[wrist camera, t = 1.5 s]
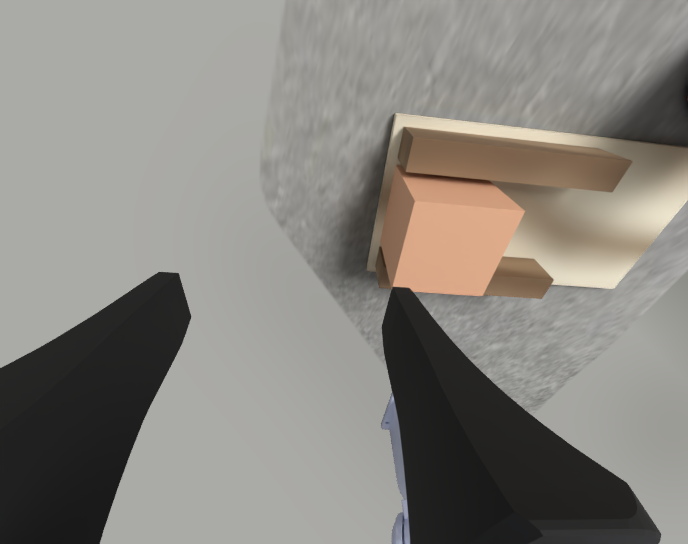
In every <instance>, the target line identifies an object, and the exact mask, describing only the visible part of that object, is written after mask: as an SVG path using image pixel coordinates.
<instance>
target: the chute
mask: <svg viewBox="0 0 688 544" xmlns="http://www.w3.org/2000/svg"><path fill="white" fill-rule="evenodd" d="M397 158H398V160H399V161H400V163H401V165H402V166H403V168H404V170H405V172H412V173H422V174H432V175H442V176H452V177H462V178H472V179H482V180H492V181H502V182H512V183H522V184H532V185H542V186H552V187H562V188H572V189H582V190H592V191H602V192H613V191H614V189H615V188H616V186H617V185H618V183H619V182H620V180H621V179H622V177H623V176H624V174H625V173H626V171H627V170H628V168H629V167H630V165H631V164H632V162H633V161H631V160H629V159H626V158H623V157H621V156H618V155H615V154H613V153H610V152H607V151H605V150H602V149H599V148H592V147H583V146H574V145H565V144H556V143H548V142H539V141H530V140H521V139H512V138H503V137H494V136H485V135H476V134H468V133H459V132H450V131H441V130H432V129H423V128H414V127H405V126H404V128H403V133H402V138H401V143H400V148H399V153H398V157H397ZM375 267H376V273H377V278H378V284H379V288H389V289H391V285H390V281H389V277H388V272H387V268H386V264H385V260H384V255H383V251H382V247H379V250H378V255H377V260H376V265H375ZM553 281H554V279H553V278H552V277H551V276H550V275H549V274H548V273H547V272H546V271H545V270H544V269H543V268H542V267H541V266H540V264H539V263H538V262H537V261H536V260H535V259H531V258H518V257H505V256H502V258H501V260H500V262H499V264H498V266H497V268H496V270H495V272H494V274H493V276H492V278H491V280H490V282H489V284H488V286H487V288H486V290H485V292H484V294H483V295H493V296H508V297H523V298H538V299H542V298H543V296H544V295H545V293H546V292H547V290H548V289H549V287H550V286H551V284H552V283H553Z"/></svg>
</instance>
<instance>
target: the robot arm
mask: <svg viewBox="0 0 688 544" xmlns="http://www.w3.org/2000/svg"><path fill="white" fill-rule="evenodd" d="M190 319H191V314H190V311H189V307H188V304H187V300H186V297H185V293H184V290H183V287H182V283H181V280H180V277H179V273H168V272H158V273H157V274H155V275H154V276H152V277H150V278H149V279H147V280H146V281H144V282H143V283H141V284H140V285H138V286H137V287H135V288H134V289H132V290H131V291H129V292H128V293H127V294H125V295H123V296H122V297H120V298H119V299H118V300H116V301H114V302H113V303H111V304H110V305H108V306H107V307H105V308H104V309H102V310H101V311H99V312H98V313H96V314H95V315H93V316H92V317H90V318H88V319H87V320H85V321H83V322H82V323H80V324H78V325H77V326H75V327H74V328H72V329H70V330H69V331H67V332H65V333H64V334H62V335H61V336H59V337H57V338H56V339H54V340H52V341H50V342H49V343H47V344H45V345H43V346H41V347H40V348H38V349H36V350H34V351H32V352H31V353H29V354H27V355H25V356H23V357H21V358H19V359H17V360H15V361H14V362H12V363H10V364H8V365H6V366H4V367H2V368H0V544H100V540H101V537H102V533H103V530H104V527H105V524H106V521H107V518H108V515H109V512H110V509H111V506H112V503H113V500H114V497H115V494H116V491H117V488H118V486H119V483H120V480H121V477H122V474H123V472H124V469H125V466H126V464H127V461H128V458H129V456H130V453H131V450H132V448H133V445H134V443H135V440H136V437H137V435H138V432H139V430H140V428H141V425H142V423H143V420H144V418H145V416H146V414H147V411H148V409H149V407H150V405H151V403H152V401H153V399H154V397H155V396H156V394H157V392H158V390H159V388H160V386H161V384H162V382H163V380H164V378H165V376H166V374H167V372H168V370H169V368H170V367H171V365H172V362H173V361H174V359H175V357H176V355H177V353H178V351H179V349H180V347H181V345H182V342H183V339H184V337H185V334H186V331H187V328H188V325H189V322H190ZM382 335H383V347H384V355H385V360H386V364H387V369H388V374H389V379H390V383H391V388H392V394H391V397H390V400H389V403H388V406H387V408H386V412H385V414H384V417H383V420H382V423H381V428H382V429H390V435H391V442H392V449H393V457H394V464H395V470H396V478H397V483H398V487H399V490H400V493H401V495H402V497H403V498H404V500H402V507H403V512H402V513H399V514H398V516H397V518H396V521H395V523H394V526H393V530H392V544H658V543H659V542H660V538H661V533H660V532H659V530H658V529H657V527H656V525H655V524H654V522H653V521H652V519H651V518H650V517H649V515H648V513H647V512H646V510H645V509H644V507H643V506H642V505H641V503H640V502H639V500H638V498H637V497H636V495H635V494H634V492H633V491H632V490H631V488H630V487H629V485H628V484H627V483H626V482H625V481H623V480H622V479H620V478H619V477H617V476H616V475H614V474H613V473H611V472H610V471H608V470H607V469H605V468H604V467H602V466H601V465H599V464H598V463H596V462H595V461H593V460H592V459H590V458H589V457H588V456H586V455H585V454H583V453H581V452H580V451H579V450H577V449H576V448H574V447H573V446H571V445H570V444H569V443H567V442H566V441H565V440H563V439H562V438H561V437H559V436H558V435H556V434H555V433H554V432H553V431H551V430H550V429H548V428H547V427H546V426H544V425H543V424H542V423H541V422H539V421H538V420H537V419H535V418H534V417H533V416H532V415H530V414H529V413H528V412H527V411H525V410H524V409H523V408H522V407H521V406H519V405H518V404H517V403H516V402H515V401H513V400H512V399H511V398H510V397H509V396H507V395H506V394H505V393H504V392H503V391H502V390H501V389H500V388H498V387H497V386H496V385H495V384H494V383H493V382H492V381H491V380H490V379H489V378H488V377H487V376H486V375H484V374H483V373H482V372H481V371H480V370H479V369H478V368H477V367H476V366H475V365H474V364H473V363H472V362H471V361H470V360H469V359H468V358H467V357H466V356H465V355H464V353H463V352H462V351H461V350H460V349H459V348H458V347H457V346H456V345H455V344H454V343H453V341H452V340H451V339H450V338H449V337H448V336H447V334H446V333H445V332H444V331H443V330H442V328H441V327H440V326H439V325H438V324H437V322H436V321H435V320H434V319H433V317H432V316H431V315H430V314H429V312H428V311H427V310H426V308H425V307H424V306H423V304H422V303H421V302H420V301H419V299H418V298H417V297H416V295H415V294H414V293H413V291H412V290H411V289H410V288H407V287H392V291H391V294H390V298H389V302H388V305H387V309H386V313H385V316H384V320H383V324H382Z"/></svg>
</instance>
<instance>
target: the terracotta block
mask: <svg viewBox="0 0 688 544" xmlns="http://www.w3.org/2000/svg"><path fill="white" fill-rule="evenodd" d="M524 213H525V211H524V210H523V209H522V208H521V207H520V206H519V205H517V204H516V203H515V202H514V201H513V200H511V199H510V198H509V197H508V196H507V195H506V194H504V193H503V192H502V191H501V190H500V189H498V188H497V187H496V186H495V185H494V184H493V183H491V182H490V181H489V180H482V179H472V178H462V177H452V176H442V175H432V174H422V173H412V172H405V170H404V168H403V166H401V165H396V167H395V172H394V177H393V182H392V187H391V192H390V196H389V201H388V206H387V211H386V216H385V221H384V226H383V231H382V235H381V240H380V242H381V247H382V251H383V255H384V260H385V264H386V268H387V272H388V277H389V281H390V285H391V289H392V287H407V288H410V289H411V290H412V291H413V292H426V293H441V294H456V295H471V296H483V294H484V292H485V290H486V288H487V286H488V284H489V282H490V280H491V278H492V276H493V274H494V272H495V270H496V268H497V266H498V264H499V262H500V260H501V258H502V256H503V254H504V252H505V250H506V248H507V246H508V244H509V242H510V240H511V238H512V236H513V234H514V232H515V230H516V229H517V227H518V225H519V223H520V221H521V219H522V217H523V215H524Z"/></svg>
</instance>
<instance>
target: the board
mask: <svg viewBox="0 0 688 544" xmlns="http://www.w3.org/2000/svg"><path fill="white" fill-rule="evenodd" d="M404 126H405V127H414V128H423V129H432V130H441V131H450V132H459V133H468V134H476V135H485V136H494V137H503V138H512V139H521V140H530V141H539V142H548V143H556V144H565V145H574V146H583V147H592V148H599V149H602V150H605V151H607V152H610V153H613V154H615V155H618V156H621V157H623V158H626V159H629V160H631V161H633V162H632V164H631V165H630V167H629V168H628V170H627V171H626V173H625V174H624V176H623V177H622V179H621V180H620V182H619V183H618V185H617V186H616V188H615V189H614V191H613V192H602V191H592V190H582V189H572V188H562V187H552V186H542V185H532V184H522V183H512V182H502V181H492V180H489V181H490V182H491V183H493V184H494V185H495V186H496V187H497V188H498V189H500V190H501V191H502V192H503V193H504V194H506V195H507V196H508V197H509V198H510V199H511V200H513V201H514V202H515V203H516V204H517V205H519V206H520V207H521V208H522V209H523V210H524V211H525V213H524V215H523V217H522V219H521V221H520V223H519V225H518V227H517V229H516V230H515V232H514V234H513V236H512V238H511V240H510V242H509V244H508V246H507V248H506V250H505V252H504V254H503V256H505V257H518V258H531V259H535V260H536V261H537V262H538V263H539V264H540V266H541V267H542V268H543V269H544V270H545V271H546V272H547V273H548V274H549V275H550V276H551V277H552V278H553V279H554V281H553V283H552V284H553V285H567V286H581V287H595V288H608V289H614V288H615V287H616V286H617V284H618V283H619V282H620V281H621V280H622V278H623V277H624V276H625V275H626V274H627V272H628V271H629V270H630V269H631V268H632V266H633V265H634V264H635V263H636V262H637V260H638V259H639V258H640V257H641V256H642V254H643V253H644V252H645V251H646V250H647V248H648V247H649V246H650V245H651V244H652V242H653V241H654V240H655V239H656V238H657V236H658V235H659V234H660V233H661V232H662V230H663V229H664V228H665V227H666V225H667V224H668V223H669V222H670V221H671V219H672V218H673V217H674V216H675V215H676V213H677V212H678V211H679V210H680V209H681V207H682V206H683V205H684V204H685V203H686V201H687V200H688V147H684V146H675V145H667V144H658V143H649V142H641V141H632V140H624V139H615V138H606V137H598V136H589V135H581V134H572V133H563V132H555V131H546V130H537V129H529V128H520V127H512V126H503V125H494V124H486V123H477V122H468V121H460V120H451V119H443V118H434V117H425V116H417V115H408V114H399V113H395V115H394V121H393V126H392V132H391V137H390V143H389V148H388V153H387V159H386V164H385V170H384V175H383V180H382V186H381V191H380V197H379V202H378V208H377V213H376V218H375V224H374V229H373V235H372V240H371V245H370V251H369V256H368V262H367V271H372V272H376V267H375V265H376V260H377V255H378V250H379V247H381V242H380V240H381V235H382V231H383V226H384V221H385V216H386V211H387V206H388V201H389V196H390V192H391V187H392V182H393V177H394V172H395V167H396V165H401V163H400V161H399V160H398V158H397V157H398V153H399V148H400V143H401V138H402V133H403V128H404ZM401 166H402V165H401Z"/></svg>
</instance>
